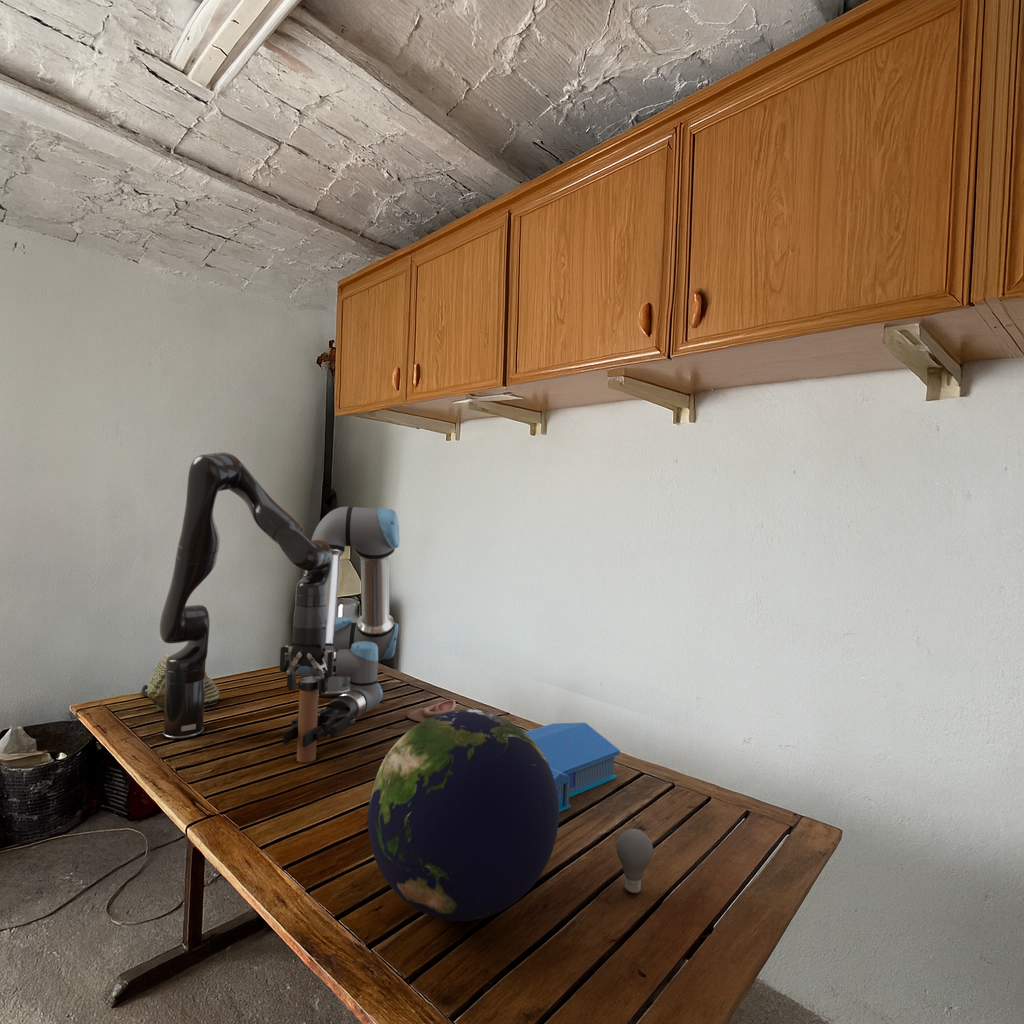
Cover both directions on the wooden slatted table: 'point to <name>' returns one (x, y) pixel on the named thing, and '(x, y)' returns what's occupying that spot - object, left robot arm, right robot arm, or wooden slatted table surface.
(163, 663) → the fossil
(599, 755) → the model building
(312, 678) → the lid
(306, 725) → the brown rounded cylinder
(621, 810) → the wooden slatted table surface
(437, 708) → the anatomical model
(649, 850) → the light bulb
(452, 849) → the globe
